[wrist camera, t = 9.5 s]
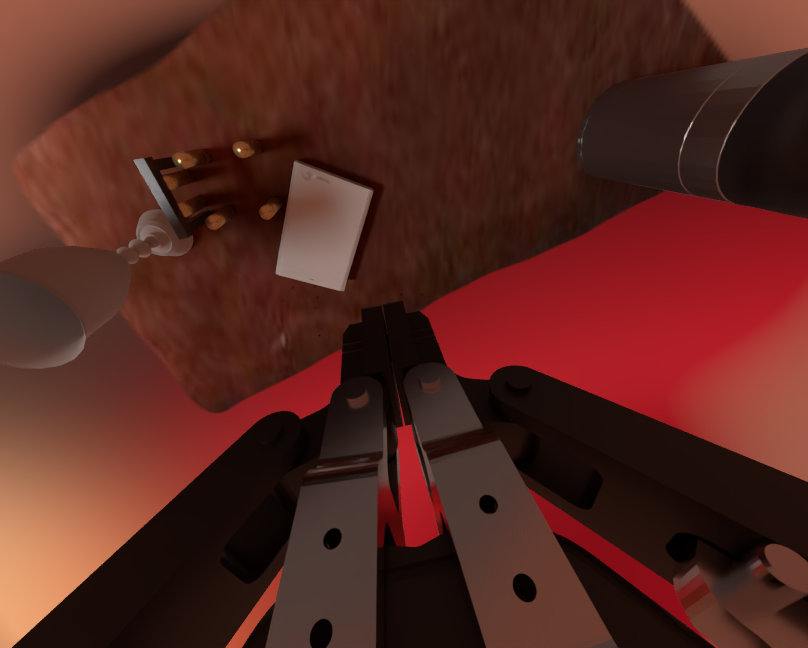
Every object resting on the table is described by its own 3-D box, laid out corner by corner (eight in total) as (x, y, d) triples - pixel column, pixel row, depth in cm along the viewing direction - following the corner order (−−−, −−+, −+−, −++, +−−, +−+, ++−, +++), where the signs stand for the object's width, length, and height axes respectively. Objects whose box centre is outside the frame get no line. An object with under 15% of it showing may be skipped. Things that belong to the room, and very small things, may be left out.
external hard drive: (293, 160, 29) (274, 274, 35) (374, 191, 32) (344, 292, 37) (296, 159, 30) (277, 268, 36) (373, 188, 33) (344, 286, 39)
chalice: (156, 271, 34) (6, 381, 19) (109, 211, 30) (-124, 291, 15) (217, 253, 34) (114, 349, 19) (177, 190, 30) (10, 250, 15)
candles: (259, 138, 29) (240, 140, 24) (284, 207, 33) (271, 221, 27) (169, 154, 29) (130, 160, 23) (204, 222, 32) (177, 239, 27)
